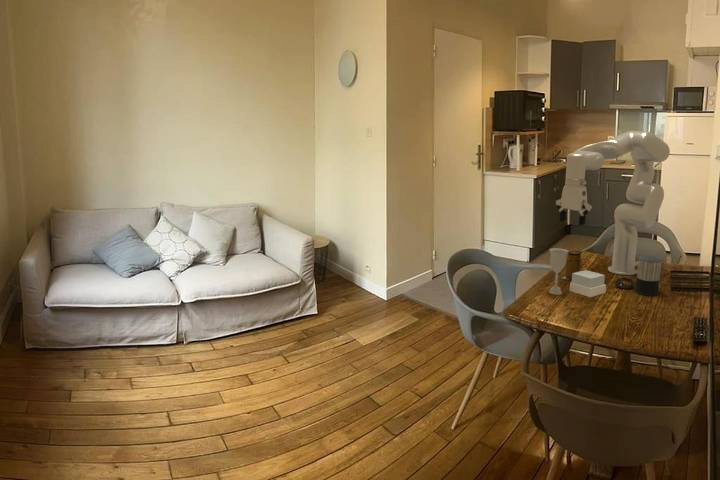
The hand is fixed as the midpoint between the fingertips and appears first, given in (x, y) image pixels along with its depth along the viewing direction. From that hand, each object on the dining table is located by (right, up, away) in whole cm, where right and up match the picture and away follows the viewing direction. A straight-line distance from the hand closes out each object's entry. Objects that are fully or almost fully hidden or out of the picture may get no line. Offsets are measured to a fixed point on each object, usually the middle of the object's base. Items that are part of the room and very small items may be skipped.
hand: (572, 222), depth 253 cm
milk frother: (+25, -29, -4) cm, 38 cm away
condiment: (+5, -25, +12) cm, 28 cm away
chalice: (-9, -29, -7) cm, 32 cm away
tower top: (+4, -25, -7) cm, 27 cm away
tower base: (+4, -29, -6) cm, 30 cm away
